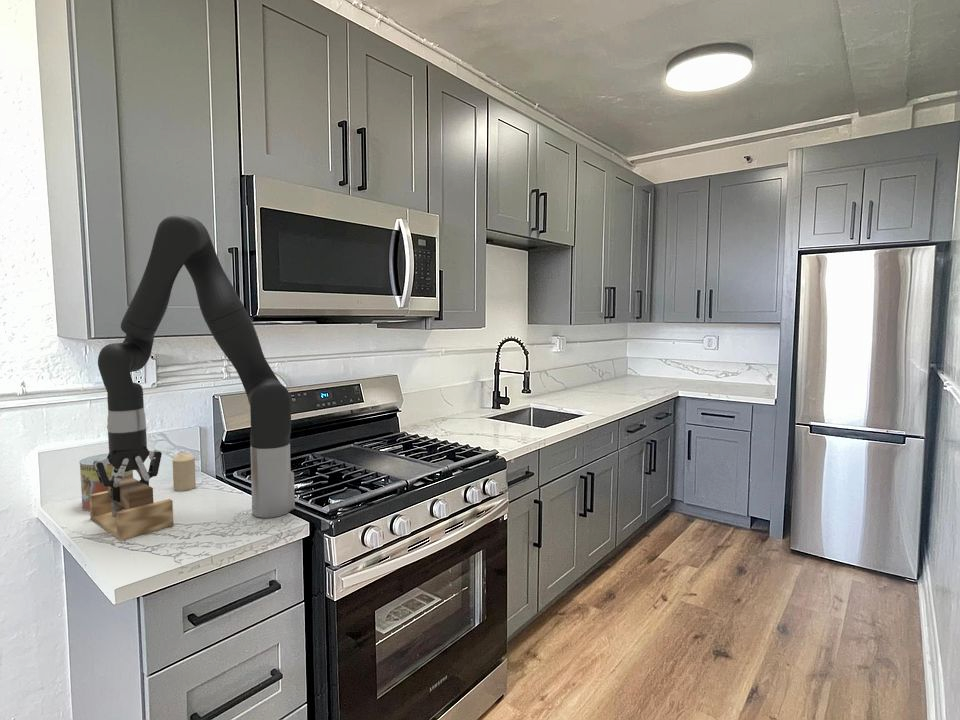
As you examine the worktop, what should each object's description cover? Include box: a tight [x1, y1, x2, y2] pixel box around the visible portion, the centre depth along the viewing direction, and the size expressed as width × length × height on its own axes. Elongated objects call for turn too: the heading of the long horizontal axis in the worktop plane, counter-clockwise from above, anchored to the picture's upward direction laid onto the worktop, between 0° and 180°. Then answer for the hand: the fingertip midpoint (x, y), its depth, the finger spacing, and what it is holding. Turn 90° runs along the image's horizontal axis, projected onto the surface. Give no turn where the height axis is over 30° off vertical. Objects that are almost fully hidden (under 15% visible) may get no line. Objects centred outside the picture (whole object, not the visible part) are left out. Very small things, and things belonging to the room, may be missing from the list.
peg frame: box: [89, 491, 174, 541], centre depth 129 cm, size 11×19×6 cm, turn 52°
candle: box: [172, 452, 197, 492], centre depth 153 cm, size 6×6×10 cm
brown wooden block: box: [108, 477, 155, 509], centre depth 128 cm, size 13×5×4 cm, turn 52°
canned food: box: [78, 453, 134, 513], centre depth 140 cm, size 11×11×12 cm
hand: (130, 498), depth 129 cm, fingers closed on brown wooden block, 5 cm apart
